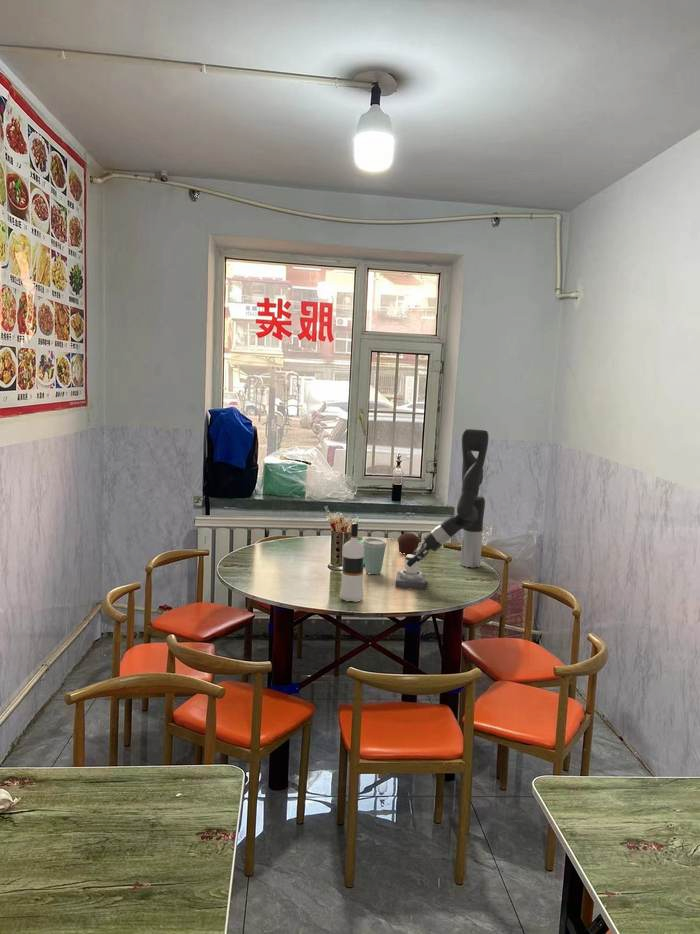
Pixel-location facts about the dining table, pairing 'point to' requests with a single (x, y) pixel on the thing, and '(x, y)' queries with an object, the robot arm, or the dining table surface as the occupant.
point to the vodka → (352, 567)
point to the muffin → (408, 543)
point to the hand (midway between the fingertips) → (408, 562)
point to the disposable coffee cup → (373, 555)
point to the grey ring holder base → (410, 580)
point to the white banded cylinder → (414, 568)
